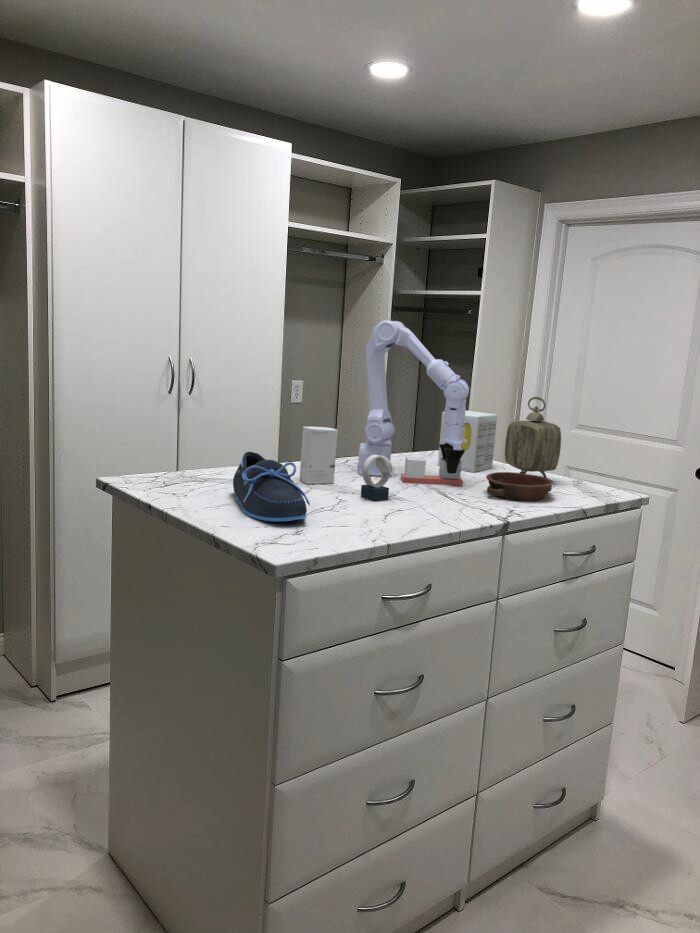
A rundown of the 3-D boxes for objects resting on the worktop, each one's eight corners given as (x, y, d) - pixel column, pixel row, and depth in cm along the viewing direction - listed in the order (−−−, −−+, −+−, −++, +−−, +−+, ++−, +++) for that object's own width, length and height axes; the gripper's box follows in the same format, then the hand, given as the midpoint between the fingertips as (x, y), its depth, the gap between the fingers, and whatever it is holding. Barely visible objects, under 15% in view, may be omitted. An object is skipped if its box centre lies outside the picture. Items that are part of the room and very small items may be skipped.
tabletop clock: (556, 485, 222) (566, 400, 218) (533, 487, 218) (543, 399, 213) (521, 475, 234) (530, 394, 230) (499, 476, 230) (507, 394, 225)
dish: (465, 491, 206) (466, 473, 205) (523, 486, 218) (524, 469, 217) (511, 506, 192) (513, 487, 191) (570, 500, 204) (573, 482, 203)
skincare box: (306, 484, 201) (309, 429, 199) (298, 479, 207) (301, 425, 204) (335, 483, 205) (338, 429, 202) (327, 479, 210) (330, 425, 207)
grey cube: (442, 478, 212) (444, 460, 211) (438, 474, 217) (440, 457, 216) (460, 478, 213) (461, 461, 212) (456, 475, 218) (457, 458, 217)
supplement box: (436, 466, 241) (440, 411, 238) (456, 462, 252) (461, 409, 248) (473, 473, 233) (478, 416, 230) (493, 468, 244) (498, 414, 241)
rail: (402, 482, 212) (404, 459, 211) (400, 479, 217) (402, 456, 216) (462, 485, 213) (464, 462, 212) (459, 481, 218) (461, 459, 217)
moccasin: (261, 531, 155) (263, 474, 153) (206, 494, 185) (208, 446, 182) (322, 526, 162) (325, 472, 160) (259, 491, 191) (261, 445, 189)
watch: (393, 499, 190) (397, 456, 188) (369, 502, 185) (372, 458, 183) (378, 494, 195) (381, 452, 193) (354, 497, 189) (357, 454, 187)
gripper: (473, 427, 205) (469, 477, 208) (462, 421, 220) (458, 467, 222) (448, 426, 205) (443, 475, 207) (438, 419, 219) (434, 465, 222)
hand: (449, 471), depth 215 cm, fingers closed on grey cube, 5 cm apart
